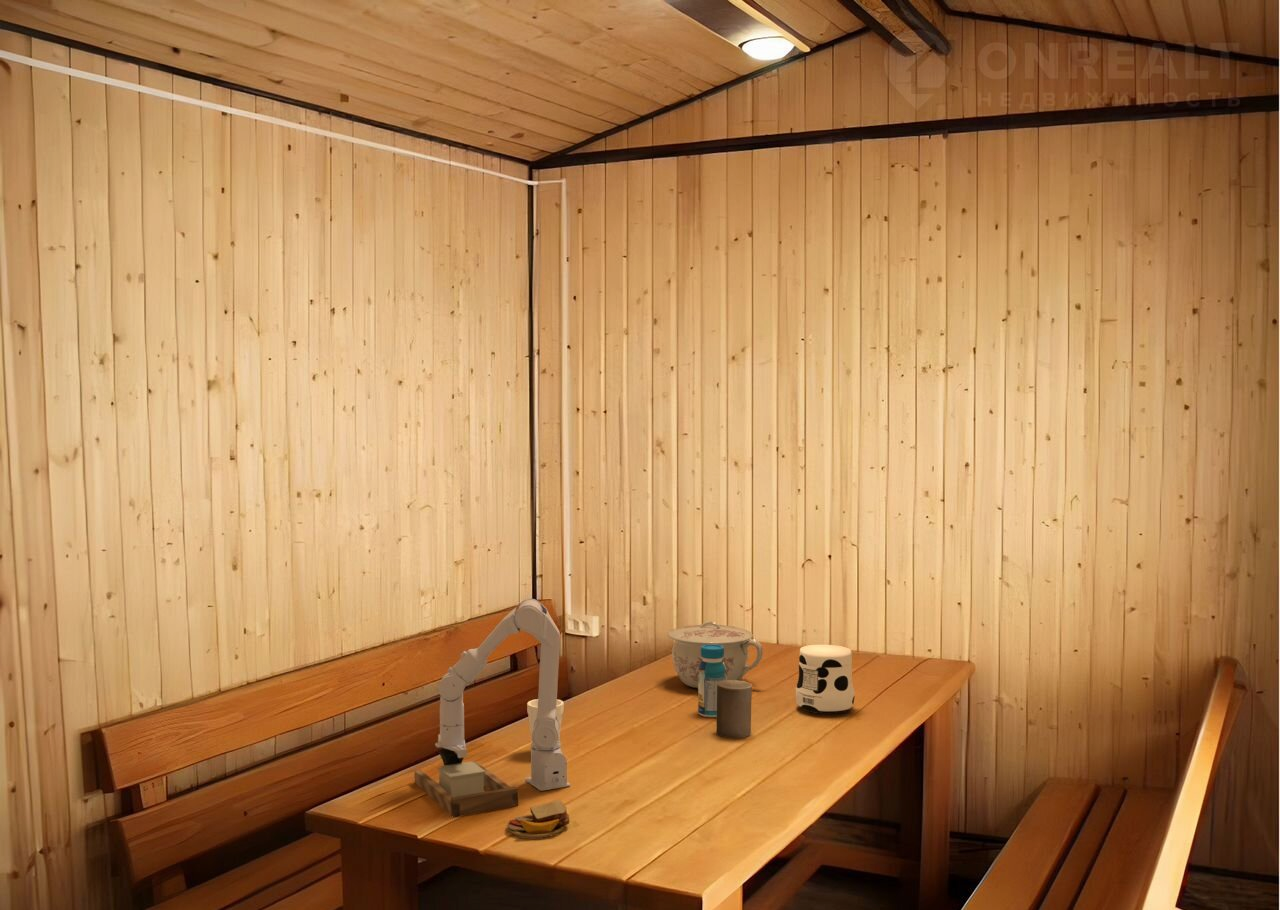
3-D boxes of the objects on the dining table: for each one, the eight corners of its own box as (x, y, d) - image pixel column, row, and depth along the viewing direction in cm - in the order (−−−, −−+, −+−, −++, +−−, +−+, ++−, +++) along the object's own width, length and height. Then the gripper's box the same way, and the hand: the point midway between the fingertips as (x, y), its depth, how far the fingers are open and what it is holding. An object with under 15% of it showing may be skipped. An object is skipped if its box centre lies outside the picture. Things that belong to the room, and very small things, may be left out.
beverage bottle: (716, 719, 341) (716, 650, 339) (691, 714, 346) (692, 646, 345) (732, 713, 347) (732, 645, 346) (708, 708, 352) (708, 642, 351)
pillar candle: (710, 734, 325) (711, 681, 324) (724, 725, 334) (725, 673, 333) (743, 740, 321) (744, 685, 320) (756, 731, 330) (757, 677, 329)
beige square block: (485, 792, 277) (485, 771, 277) (450, 798, 273) (450, 777, 273) (472, 782, 285) (471, 761, 285) (437, 787, 281) (437, 766, 280)
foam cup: (568, 748, 313) (568, 699, 312) (556, 759, 304) (556, 708, 303) (534, 745, 315) (534, 697, 314) (522, 755, 306) (522, 706, 306)
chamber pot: (652, 680, 387) (653, 617, 386) (726, 671, 399) (726, 610, 398) (692, 700, 362) (692, 633, 361) (769, 691, 374) (770, 625, 372)
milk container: (852, 703, 359) (852, 644, 358) (856, 718, 342) (857, 657, 341) (794, 701, 361) (795, 643, 360) (796, 717, 344) (796, 655, 343)
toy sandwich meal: (504, 821, 260) (504, 800, 260) (566, 817, 263) (566, 796, 262) (508, 842, 248) (508, 820, 248) (573, 838, 250) (573, 816, 250)
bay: (518, 805, 269) (518, 788, 269) (453, 817, 262) (453, 799, 262) (475, 772, 292) (475, 756, 292) (414, 782, 285) (414, 766, 285)
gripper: (426, 718, 288) (426, 773, 289) (446, 733, 275) (446, 791, 276) (453, 714, 291) (453, 769, 292) (475, 729, 279) (475, 786, 280)
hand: (452, 779), depth 284 cm, fingers closed
